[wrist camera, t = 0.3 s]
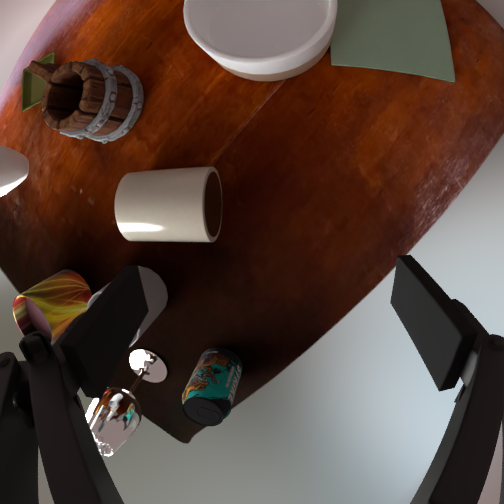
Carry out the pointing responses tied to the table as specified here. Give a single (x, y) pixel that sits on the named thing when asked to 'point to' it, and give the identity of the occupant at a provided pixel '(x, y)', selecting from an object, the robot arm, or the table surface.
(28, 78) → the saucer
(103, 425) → the wineglass
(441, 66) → the mat
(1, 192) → the cup
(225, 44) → the bowl
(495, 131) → the table surface
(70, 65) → the mug
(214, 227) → the tumbler
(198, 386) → the beverage can
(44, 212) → the table surface
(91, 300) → the cup
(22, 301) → the mug
